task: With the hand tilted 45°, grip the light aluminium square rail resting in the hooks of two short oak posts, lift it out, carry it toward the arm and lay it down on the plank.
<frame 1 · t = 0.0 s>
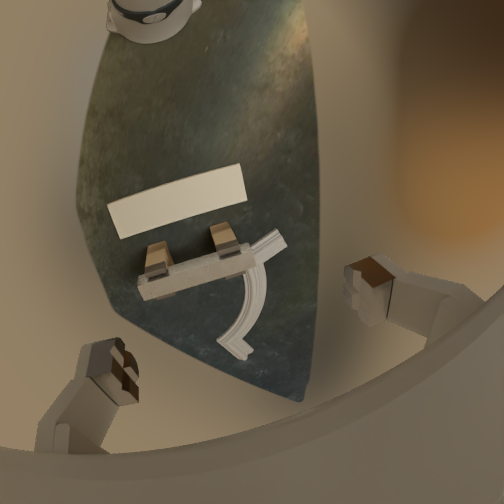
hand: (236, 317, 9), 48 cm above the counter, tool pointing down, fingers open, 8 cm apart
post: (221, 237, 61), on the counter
plank: (176, 199, 54), on the counter
molding: (253, 302, 72), on the counter
rail: (194, 267, 52), point 9 cm above the counter, touching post, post
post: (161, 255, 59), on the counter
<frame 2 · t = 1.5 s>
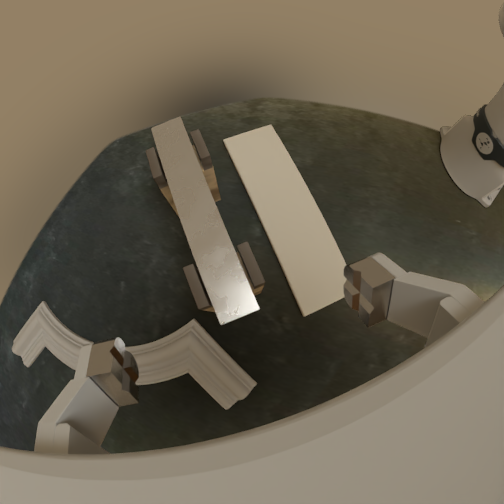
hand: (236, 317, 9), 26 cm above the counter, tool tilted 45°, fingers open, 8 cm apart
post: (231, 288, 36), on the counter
plank: (286, 210, 38), on the counter
molding: (109, 366, 33), on the counter
rail: (200, 216, 28), point 9 cm above the counter, touching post, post
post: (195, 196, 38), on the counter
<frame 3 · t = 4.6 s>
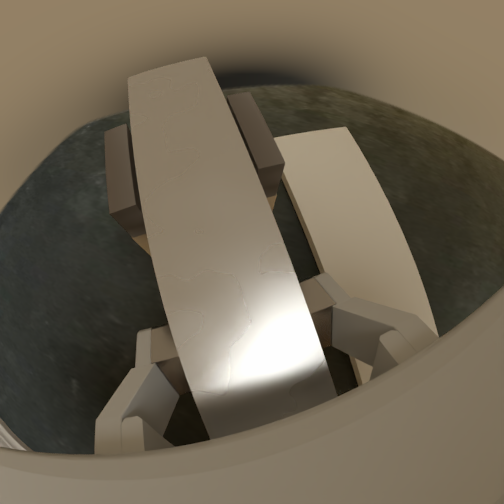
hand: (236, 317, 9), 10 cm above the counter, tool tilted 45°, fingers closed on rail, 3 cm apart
plank: (373, 282, 20), on the counter
molding: (68, 488, 13), on the counter
rail: (242, 334, 10), point 9 cm above the counter, touching gripper, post, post
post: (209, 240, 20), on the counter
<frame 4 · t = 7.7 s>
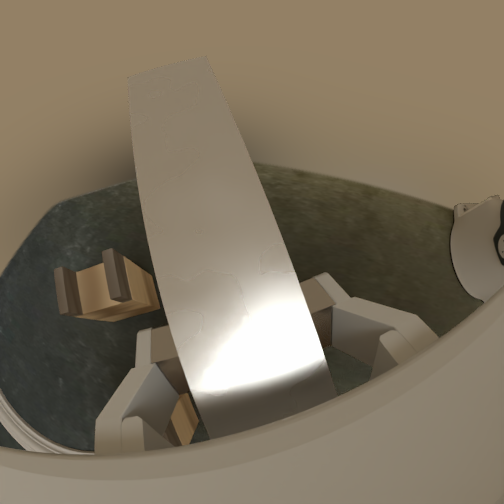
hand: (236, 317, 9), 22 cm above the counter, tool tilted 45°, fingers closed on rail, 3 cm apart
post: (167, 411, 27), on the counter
molding: (56, 455, 23), on the counter
rail: (242, 335, 10), point 21 cm above the counter, touching gripper
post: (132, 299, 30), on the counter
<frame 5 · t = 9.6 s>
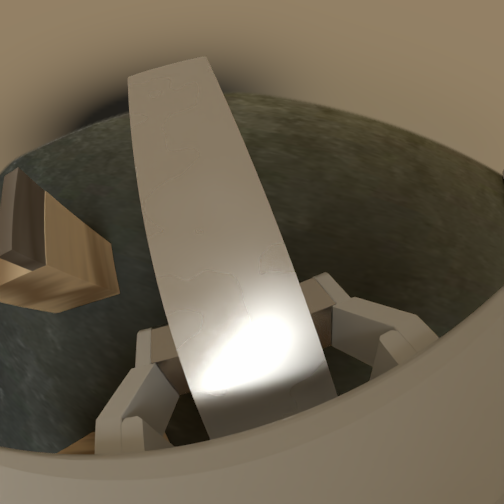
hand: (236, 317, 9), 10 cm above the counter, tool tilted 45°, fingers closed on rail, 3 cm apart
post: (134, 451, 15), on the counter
rail: (242, 334, 10), point 9 cm above the counter, touching gripper
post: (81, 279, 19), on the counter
when the fingers open (5 cm above the counter, at t = 10.9 s): rail drops 3 cm, resting on plank.
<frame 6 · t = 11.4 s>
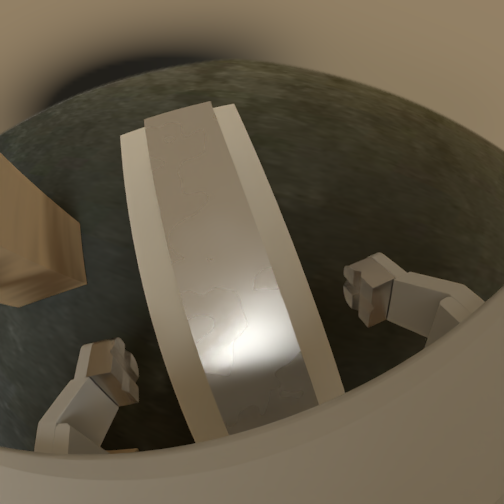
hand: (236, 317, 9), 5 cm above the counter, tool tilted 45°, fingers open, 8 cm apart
plank: (239, 333, 14), on the counter
rail: (241, 333, 13), point 1 cm above the counter, touching plank
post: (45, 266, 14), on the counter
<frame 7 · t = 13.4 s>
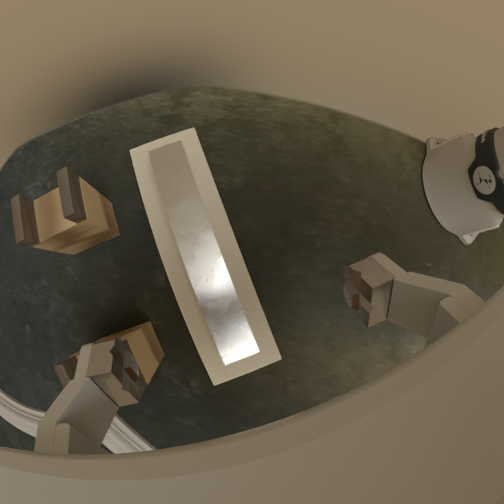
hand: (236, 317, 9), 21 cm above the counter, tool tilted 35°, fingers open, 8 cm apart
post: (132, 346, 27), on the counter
plank: (199, 252, 29), on the counter
molding: (34, 421, 24), on the counter
rail: (200, 251, 28), point 1 cm above the counter, touching plank
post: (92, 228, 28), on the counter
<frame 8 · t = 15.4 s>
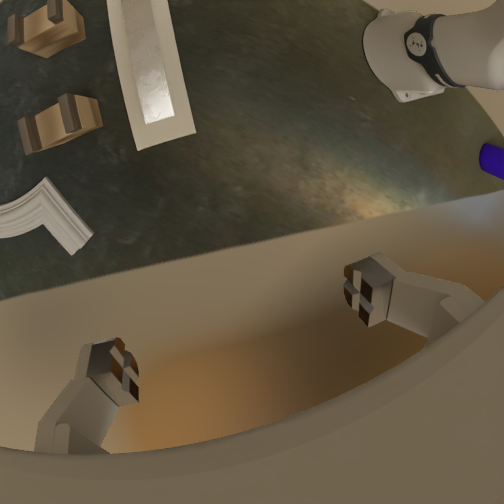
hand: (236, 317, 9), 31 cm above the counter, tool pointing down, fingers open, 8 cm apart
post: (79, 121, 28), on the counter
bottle: (484, 156, 50), on the counter
plank: (145, 47, 26), on the counter
rail: (145, 45, 25), point 1 cm above the counter, touching plank
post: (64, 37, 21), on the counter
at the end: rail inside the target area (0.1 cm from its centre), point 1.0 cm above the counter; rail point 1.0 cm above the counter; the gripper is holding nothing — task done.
